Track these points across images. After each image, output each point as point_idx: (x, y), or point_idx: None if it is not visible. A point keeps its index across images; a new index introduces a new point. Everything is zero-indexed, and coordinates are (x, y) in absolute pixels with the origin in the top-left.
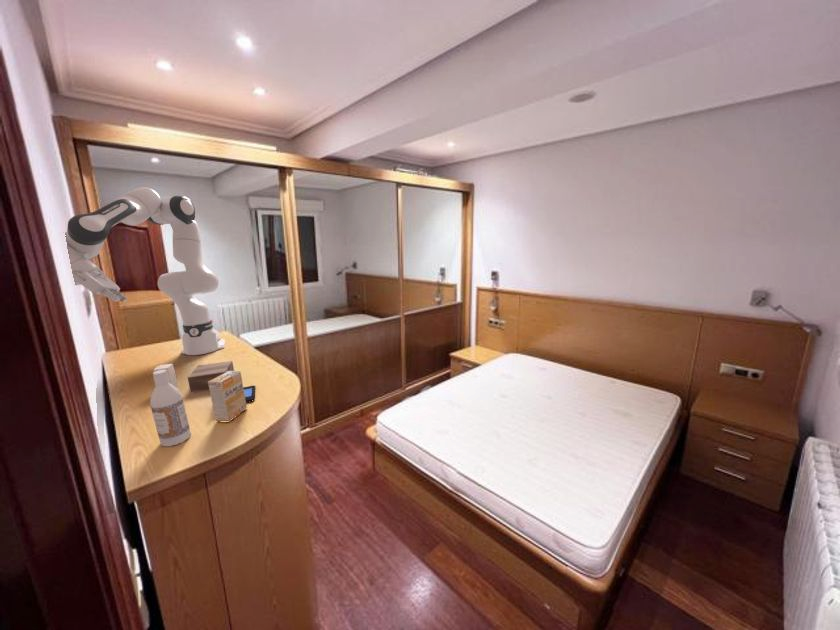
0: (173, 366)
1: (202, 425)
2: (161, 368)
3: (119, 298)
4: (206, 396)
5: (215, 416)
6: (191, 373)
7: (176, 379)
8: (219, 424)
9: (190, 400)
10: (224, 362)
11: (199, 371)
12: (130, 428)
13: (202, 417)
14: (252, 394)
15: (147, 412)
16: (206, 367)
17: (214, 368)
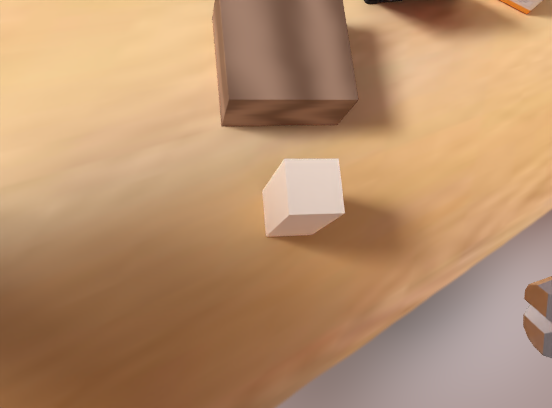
0: (281, 163)
1: (535, 40)
2: (337, 183)
3: (547, 278)
4: (380, 69)
5: (538, 3)
6: (318, 98)
7: (268, 182)
8: None
9: (397, 107)
10: (227, 4)
11: (305, 74)
12: (529, 205)
13: (500, 49)
14: None
15: (450, 203)
16: (265, 60)
17: (288, 28)
